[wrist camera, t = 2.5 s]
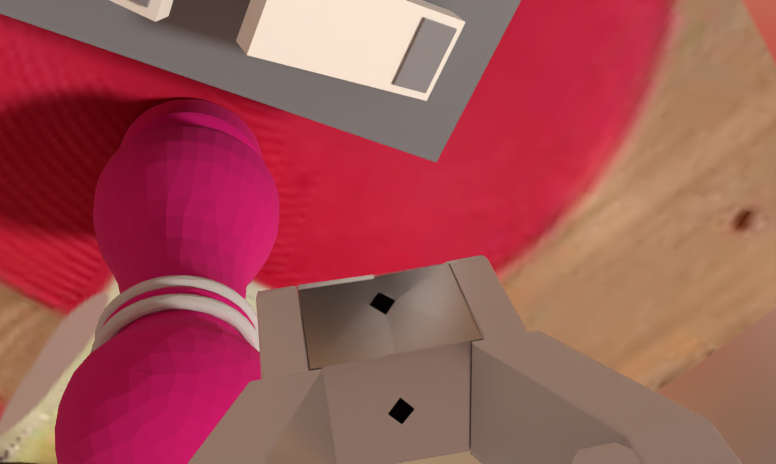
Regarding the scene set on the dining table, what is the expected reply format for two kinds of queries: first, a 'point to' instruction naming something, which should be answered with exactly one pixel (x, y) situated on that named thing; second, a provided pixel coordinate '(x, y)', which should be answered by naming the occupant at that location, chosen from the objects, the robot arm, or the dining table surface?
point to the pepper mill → (172, 288)
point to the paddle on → (148, 7)
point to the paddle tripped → (355, 40)
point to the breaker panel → (278, 81)
